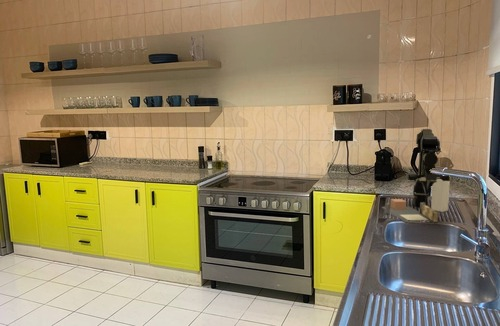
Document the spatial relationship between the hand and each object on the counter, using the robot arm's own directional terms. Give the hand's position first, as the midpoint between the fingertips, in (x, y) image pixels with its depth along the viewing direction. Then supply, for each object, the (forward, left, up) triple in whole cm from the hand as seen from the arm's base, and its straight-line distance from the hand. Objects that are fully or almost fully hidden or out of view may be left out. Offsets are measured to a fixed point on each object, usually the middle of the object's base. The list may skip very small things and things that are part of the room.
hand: (426, 194), depth 193 cm
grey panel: (+4, -11, -13) cm, 17 cm away
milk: (-17, -18, -13) cm, 28 cm away
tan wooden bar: (-3, -1, -12) cm, 12 cm away
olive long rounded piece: (+5, -11, -13) cm, 17 cm away
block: (+4, -22, -12) cm, 25 cm away
